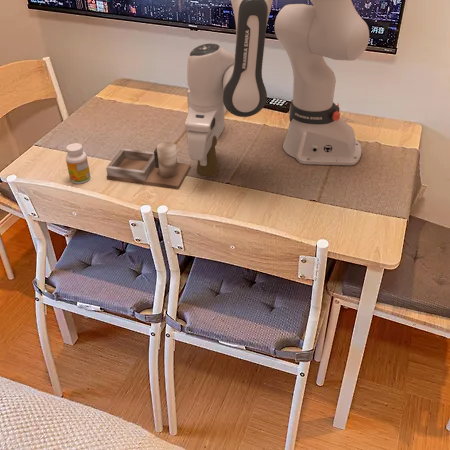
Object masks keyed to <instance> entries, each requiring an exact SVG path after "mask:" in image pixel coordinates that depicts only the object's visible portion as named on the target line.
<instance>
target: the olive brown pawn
mask: <svg viewBox="0 0 450 450" xmlns="http://www.w3.org/2000/svg"><path fill="white" fill-rule="evenodd" d="M217 141H218V140H217V139H216V136H214V137H213V140H212V146H211V148H210V150H209V152H208V153H207V155H206V156H207V158H208V163H207V165H206V166H201V165H200V161H199V160H197V163H196V164H197V165H196V174H197V175H199V176H201V177H205V178H210V177H214V176H216V175H218V174H219V171H220V170H219V164H218V158H217V153H216V147H217Z"/></svg>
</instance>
